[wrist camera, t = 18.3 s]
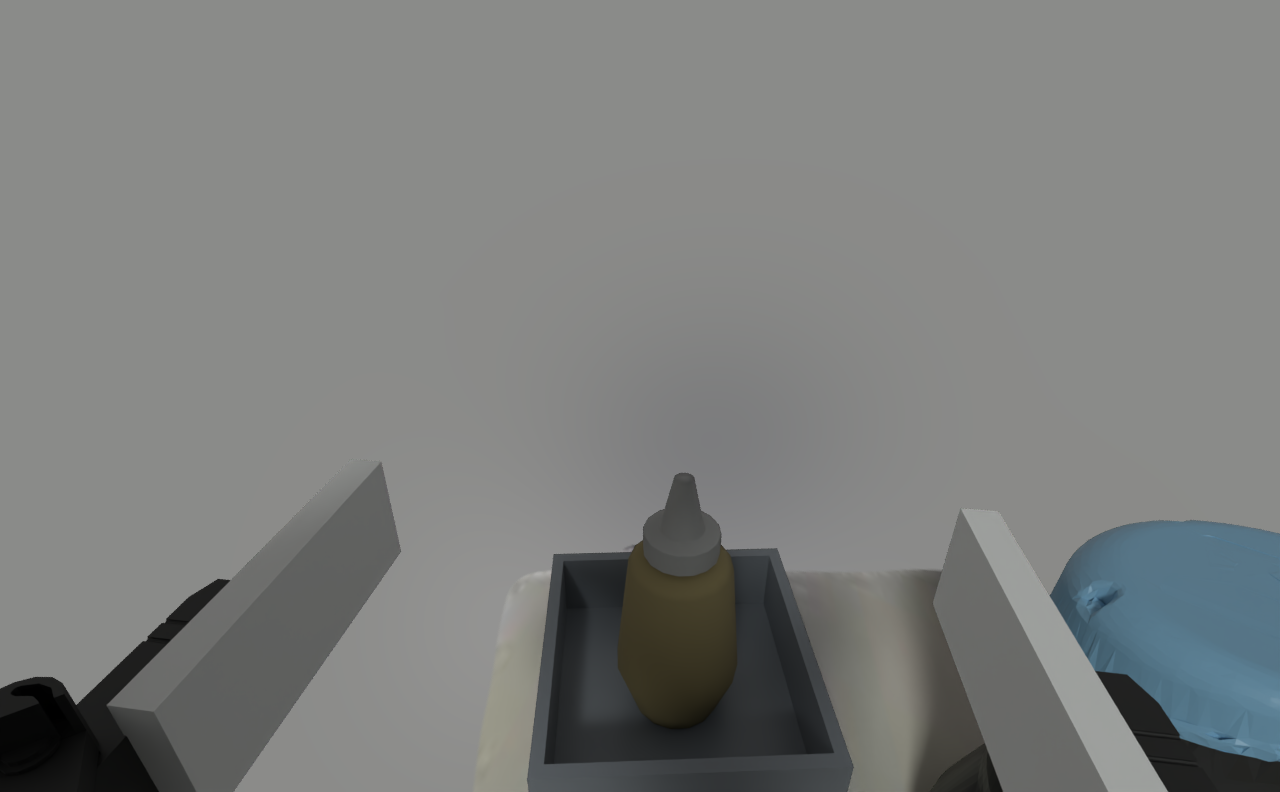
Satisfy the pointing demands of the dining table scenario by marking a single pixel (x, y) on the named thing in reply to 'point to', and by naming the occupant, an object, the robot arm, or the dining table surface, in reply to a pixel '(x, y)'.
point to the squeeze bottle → (678, 614)
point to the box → (707, 752)
